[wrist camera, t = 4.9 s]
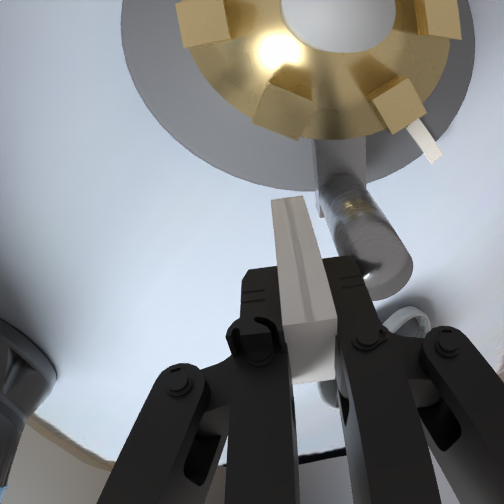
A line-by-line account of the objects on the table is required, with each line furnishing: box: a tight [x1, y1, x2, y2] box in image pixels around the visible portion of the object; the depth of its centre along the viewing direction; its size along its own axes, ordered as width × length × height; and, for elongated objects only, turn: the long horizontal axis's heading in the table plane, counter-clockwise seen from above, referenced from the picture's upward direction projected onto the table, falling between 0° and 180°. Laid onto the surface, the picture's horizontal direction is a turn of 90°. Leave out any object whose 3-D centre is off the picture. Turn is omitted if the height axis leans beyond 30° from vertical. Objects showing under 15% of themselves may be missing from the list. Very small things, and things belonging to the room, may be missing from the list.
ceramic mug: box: [317, 306, 431, 412], centre depth 25 cm, size 11×8×8 cm
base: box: [121, 0, 475, 191], centre depth 11 cm, size 20×20×7 cm
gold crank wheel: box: [175, 0, 462, 301], centre depth 10 cm, size 16×12×9 cm
